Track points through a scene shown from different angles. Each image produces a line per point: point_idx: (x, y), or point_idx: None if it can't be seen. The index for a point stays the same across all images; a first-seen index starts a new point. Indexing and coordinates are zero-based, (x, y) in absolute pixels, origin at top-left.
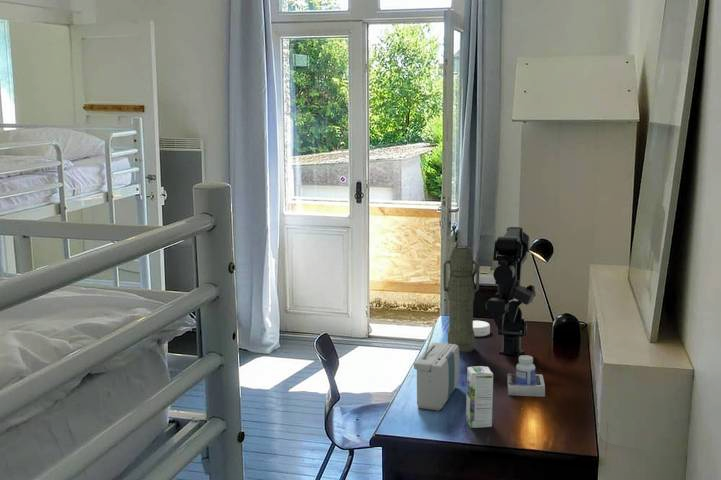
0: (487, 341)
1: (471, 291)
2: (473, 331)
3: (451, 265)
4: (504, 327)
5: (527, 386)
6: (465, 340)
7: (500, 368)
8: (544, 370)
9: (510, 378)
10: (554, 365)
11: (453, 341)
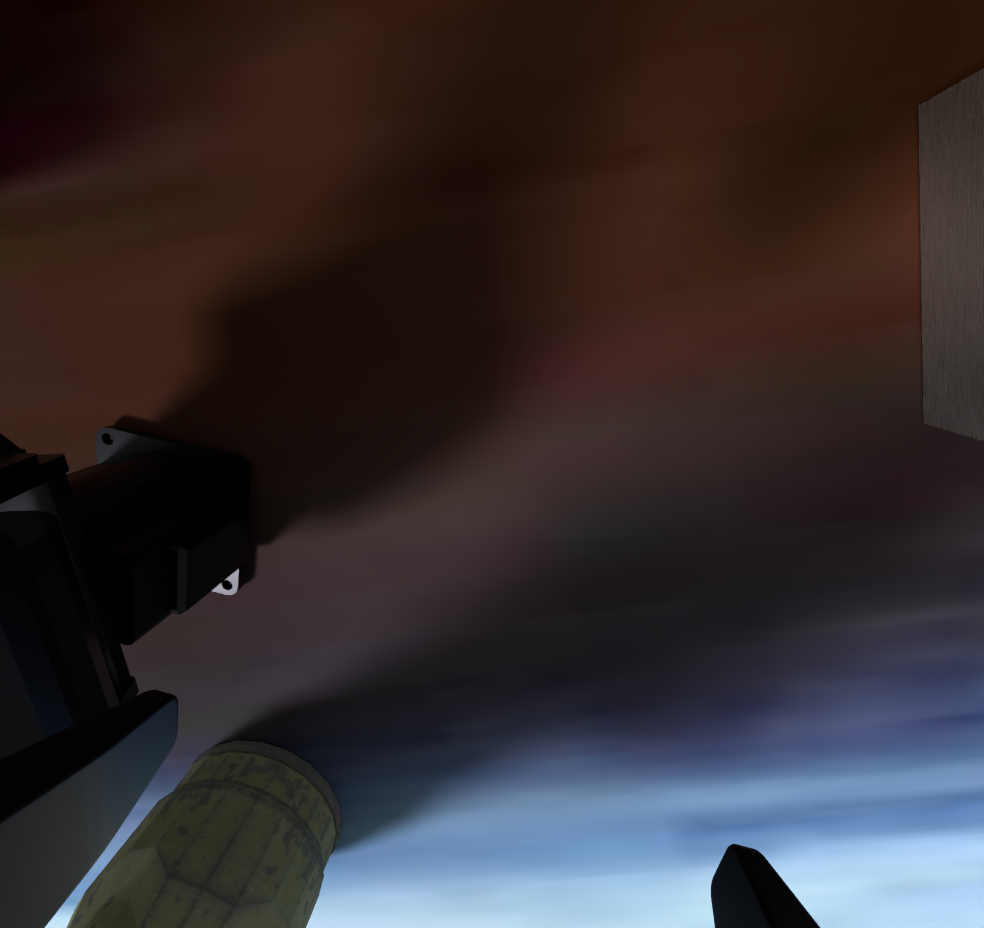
0: None
1: None
2: (166, 880)
3: None
4: (96, 712)
5: None
6: (283, 862)
7: (567, 528)
8: (504, 166)
9: None
10: (335, 98)
11: (310, 913)
